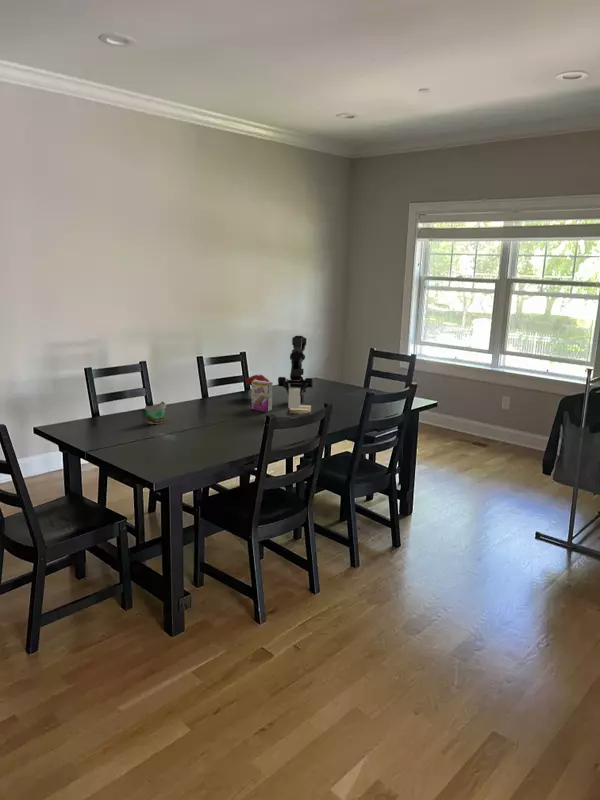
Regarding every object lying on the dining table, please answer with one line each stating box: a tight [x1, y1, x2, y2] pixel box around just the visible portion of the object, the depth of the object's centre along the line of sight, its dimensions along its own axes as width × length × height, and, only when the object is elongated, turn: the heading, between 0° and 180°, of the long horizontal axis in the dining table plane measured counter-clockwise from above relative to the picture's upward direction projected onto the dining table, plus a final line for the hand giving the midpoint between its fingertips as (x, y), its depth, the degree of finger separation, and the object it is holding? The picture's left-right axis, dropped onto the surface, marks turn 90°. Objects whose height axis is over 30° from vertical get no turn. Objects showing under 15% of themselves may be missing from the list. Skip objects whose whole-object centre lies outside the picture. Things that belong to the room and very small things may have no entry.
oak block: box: [289, 404, 312, 415], centre depth 346 cm, size 11×11×3 cm
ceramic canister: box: [287, 386, 301, 409], centre depth 335 cm, size 6×6×10 cm
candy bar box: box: [250, 380, 274, 413], centre depth 346 cm, size 11×5×16 cm, turn 65°
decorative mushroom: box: [245, 374, 271, 386], centre depth 370 cm, size 16×16×15 cm
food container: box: [144, 401, 167, 423], centre depth 315 cm, size 12×6×10 cm, turn 148°
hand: (294, 395), depth 334 cm, fingers closed on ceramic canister, 6 cm apart
